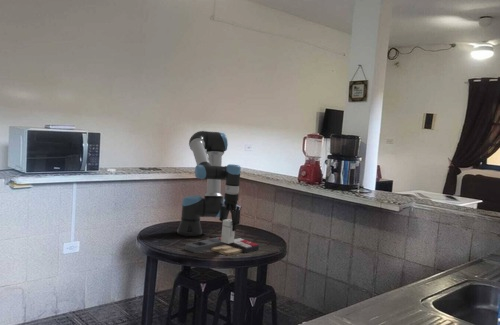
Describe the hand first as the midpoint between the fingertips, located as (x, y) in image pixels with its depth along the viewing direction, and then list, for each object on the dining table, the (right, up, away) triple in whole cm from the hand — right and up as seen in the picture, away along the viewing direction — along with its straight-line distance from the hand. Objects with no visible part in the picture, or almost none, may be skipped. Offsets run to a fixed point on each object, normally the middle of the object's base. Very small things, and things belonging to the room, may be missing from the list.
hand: (228, 235), depth 224 cm
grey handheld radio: (-10, -7, +6) cm, 14 cm away
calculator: (+8, -9, +9) cm, 15 cm away
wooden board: (-1, -9, +1) cm, 9 cm away
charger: (0, -4, 0) cm, 4 cm away
